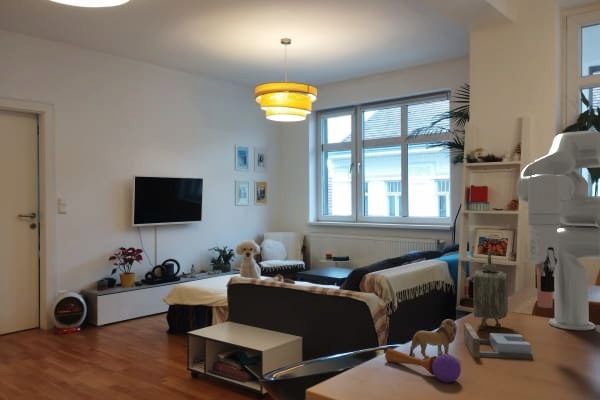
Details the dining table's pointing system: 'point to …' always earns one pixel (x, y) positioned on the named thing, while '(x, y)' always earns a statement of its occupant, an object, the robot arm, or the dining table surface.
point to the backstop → (475, 341)
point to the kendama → (430, 364)
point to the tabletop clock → (490, 293)
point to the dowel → (543, 297)
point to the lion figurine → (435, 338)
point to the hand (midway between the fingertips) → (544, 289)
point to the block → (509, 343)
